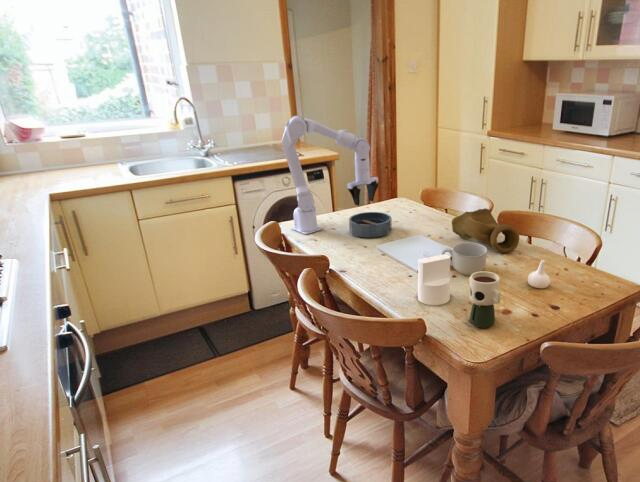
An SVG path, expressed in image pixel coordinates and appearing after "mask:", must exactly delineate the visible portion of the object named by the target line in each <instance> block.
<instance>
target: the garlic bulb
mask: <svg viewBox="0 0 640 482" xmlns="http://www.w3.org/2000/svg"><path fill="white" fill-rule="evenodd" d="M545 263H546V260H545V259H540V262H539V264H538V268H537V269H536V270H534V271H532V272H530V273H529V274H528V276H527V283H528V285H529V286H531V287H533V288H535V289H546V288H548V287H549V285H550V283H551V278H550V277H549V275H548V274H547V273H546V272H545Z"/></svg>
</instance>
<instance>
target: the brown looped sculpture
mask: <svg viewBox="0 0 640 482" xmlns="http://www.w3.org/2000/svg"><path fill="white" fill-rule="evenodd" d="M451 230H452V233H454V234H455V235H457V236H458V237H460V238H461V239H463V240H468V239H474V240H477V241H479V242H482V243H486V244H489V245H491V247H492V248H493V249H494V250H495V251H496V252H498V253H500V254H509V253H511V252H513V251H515V250H516V249H517V247H518V246H519V243H520V234H519V231H518V230H517V229H516V227H514V226H513V225H511V224H505V223H504V224H499V223H498V222H497V221H496V219H495V217H494V216H493V213H492V212H491V211H490V210H489V208H487V207H486V208H485V207H484V208H479V209H477V210H473V211H465V212H463V213H462V214H460V215H458V216H455V217H453V218H452V219H451ZM501 233H502V235H503V236H504V240H502V241H500V242H498V241H497V240H498V237H499V235H500V234H501Z"/></svg>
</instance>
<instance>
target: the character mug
mask: <svg viewBox="0 0 640 482" xmlns="http://www.w3.org/2000/svg"><path fill="white" fill-rule="evenodd" d="M500 284H501V278H500V276H499V275H498V274H496V273H495V272H492V271H488V270H487V271H484V270H482V271H480V272H475V273H473V274H472V275H471V276H469V278H468V287H469V290H468V291H469V292H468V296H469V297H468V298H469V300H470V302H471V303H472V304H471V310H470V315H469V322H470V324H472V323H473V326H474V327H477V328H485V329H486V328H488V327H492V326H493V325H494V324H495V322H496V315H495V314H496V312H495V304H500V303H501V296H502V293H501V291H500V286H501V285H500Z"/></svg>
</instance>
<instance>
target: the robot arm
mask: <svg viewBox="0 0 640 482" xmlns="http://www.w3.org/2000/svg"><path fill="white" fill-rule="evenodd" d="M306 133H307V134H311V133H317V134H320V135H323V136H325V137H327V138H330V139H333V140H334V141H335V144H336V145H339V146H340V147H344V149H345V148H346V149H348V150H351V151H354V171H355V172H354V174H355V180H353V181H351V182H348V183H346V184H347V190H348V192H349V194H350V195H351V198H352V200H353V204H354V205H355V206H360V197H361V196H360V195H361V190H362V189H361V188H359V187H363V186H366V191H367V199H368V201H370V202H374V200H375V196H376V191H377V189H378V187H379V177H378V176H372V177H371V168H370V166H371V165H370V150H371V145H370V143H369V141H367V139H365V138H364V137H362V136H360V135H359V134H354V133H351V132H349V130H348V129H346V128H345V129H340V130H336V129H333V128H332V127H329V126H327V125H325V124H322V123H320V122H318V121H316V120H313V119H310V118H306V117H302V116H300V115H293V116H291V117H290V118H289V120H288V121H287V123H286V124H285V128H284V132H283V135H282V137H281V146H282V149H283V153H284V156H285V159H286V162H287V166H288V168H289V171H290V174H291V178H292V181H293V184H294V187H295V190H296V194H297V195H296V201H297V205H298V206H297V207H296V208H295V209H294V211H293V214H292V215H293V224H294V225H293V226H294V227H292V230H294V231H296V232H298V233H301V234H304V235H308V234H312V233H315V232H319V231H322V230H323V228H322V227H319V226H318V221H317V220H318V219H317V210H316V206H315V200H314V196H313V193H312V192H311V191H310V189H309V187H308V184H307V182H306V181H307V180H306V178H305V174H304V171H303V169H302V165H301V162H300V158H299V155H298V152H297V148H296V144H297V143H298V141H299V139H300V138H301V137H302V136H304V135H305V134H306Z"/></svg>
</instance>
